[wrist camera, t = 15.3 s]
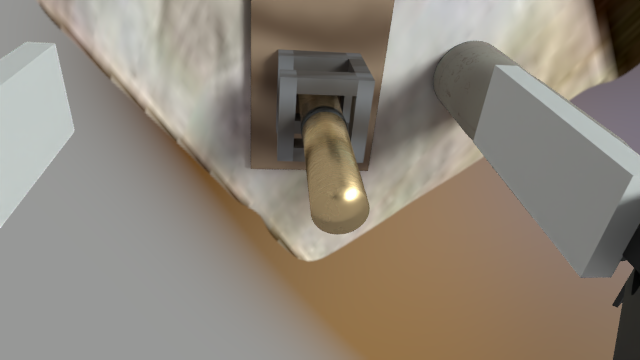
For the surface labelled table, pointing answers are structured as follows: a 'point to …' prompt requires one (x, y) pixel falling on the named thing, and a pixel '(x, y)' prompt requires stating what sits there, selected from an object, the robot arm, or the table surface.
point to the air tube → (331, 166)
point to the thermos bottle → (474, 83)
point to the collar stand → (314, 72)
